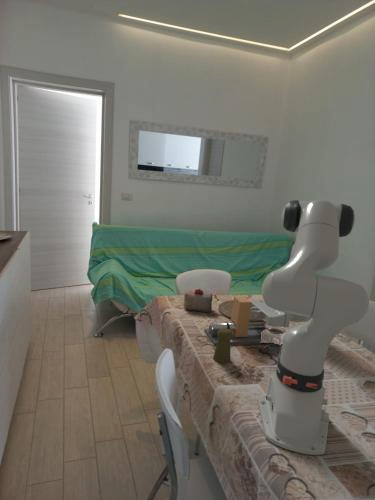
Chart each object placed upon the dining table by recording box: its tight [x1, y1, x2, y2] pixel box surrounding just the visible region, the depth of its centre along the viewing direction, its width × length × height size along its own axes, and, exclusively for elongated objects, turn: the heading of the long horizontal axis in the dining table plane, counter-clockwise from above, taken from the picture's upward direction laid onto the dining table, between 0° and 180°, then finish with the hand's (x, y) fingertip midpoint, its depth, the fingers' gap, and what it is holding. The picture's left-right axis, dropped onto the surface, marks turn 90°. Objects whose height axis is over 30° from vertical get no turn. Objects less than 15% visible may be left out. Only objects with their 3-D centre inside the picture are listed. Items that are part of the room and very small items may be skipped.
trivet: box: [217, 299, 265, 323], centre depth 164 cm, size 25×25×2 cm
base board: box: [203, 328, 261, 346], centre depth 137 cm, size 24×12×1 cm, turn 105°
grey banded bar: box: [208, 322, 268, 338], centre depth 136 cm, size 23×4×5 cm, turn 105°
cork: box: [212, 328, 233, 365], centre depth 118 cm, size 6×6×11 cm
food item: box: [183, 288, 213, 313], centre depth 162 cm, size 14×8×10 cm, turn 85°
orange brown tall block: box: [230, 296, 252, 337], centre depth 135 cm, size 5×6×14 cm
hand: (247, 311), depth 136 cm, fingers closed, pressing on orange brown tall block
